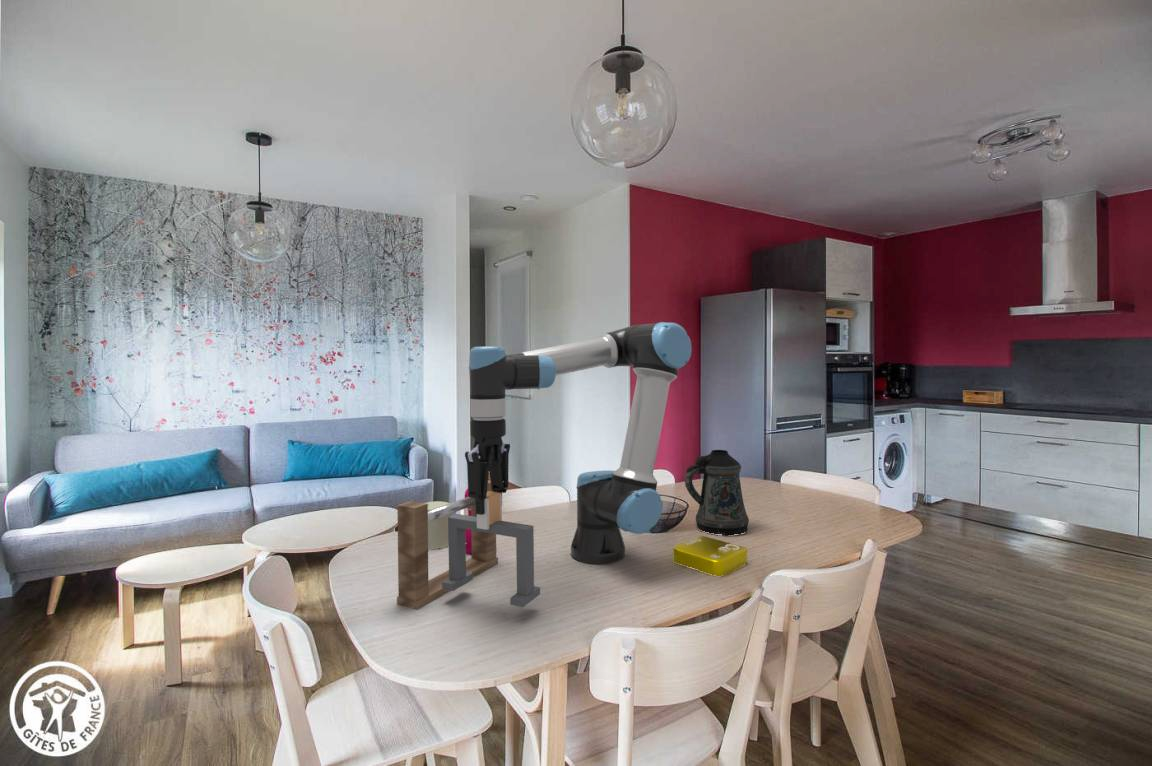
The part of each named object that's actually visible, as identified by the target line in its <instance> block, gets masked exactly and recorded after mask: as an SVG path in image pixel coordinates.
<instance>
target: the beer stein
mask: <svg viewBox="0 0 1152 766" xmlns="http://www.w3.org/2000/svg"><path fill="white" fill-rule="evenodd" d="M741 470H742V465H741V464H740V462H739V461H738V460H736V459H735V458H733V457H732V456H731V455H730V454H729V452H728V450H725V449H713V450H711V452H710V453H709V454H707V455H702V456H698V457H697V458H695V462H694V464H693V465H690V466H689V467H688V468H687V469H686V473H685V475H684V485H685V488H686V490H687V491H688V493H689V495H690V497H691V498H692V499H693V500H694V501H695V502H696V503H697V504H698V505H699V507H698V510H697V513H696V514H695V522H696V527H697V529H698V528H699V529H700V530H699V529H698V530H699V531H701V530H702V531H705V532H709V533H714V534H722V535H734V534H741V533H744V532H746V531H747V532H748V528H749V523H750V522H749V521H750V520H749V515H748V514H747V510H746V507H745V503H744V498H743V491H742V485H741V478H740V473H741ZM696 474H701V475H702V474H703V477H702V484H701V490H700V491H701V492H700V494H699V492H698V491H697V490H696V488H695V486H694V483H693V478H694V477H695V475H696ZM702 531H701V532H702ZM705 532H704V533H705ZM747 532H746V533H747Z"/></svg>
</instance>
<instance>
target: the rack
mask: <svg viewBox="0 0 1152 766" xmlns="http://www.w3.org/2000/svg"><path fill="white" fill-rule="evenodd" d="M488 491H490V492H493V491H492V487H491V480H490V479H488V485H487V492H488ZM426 503H427V502H417V501H411V500H410V501H407V502H403V503H400V504H398V505H397V510H396V511H397V575H398V576H397V577H398V578H397V579H398V582H397V583H398V586H397V587H398V592H397V593H398V595H397V596H396V604H398V605H400V606H404V607H408V608H412V609H415V610H419V609H421V608H423V607H424V606H425V605H427V604H430V603H431V602H433V601H434V600H436V599H438V598H440V597H441V595H442V596H443V595H445V594H447V593H449V592H451V591H450V590H446V589H442V582H443V581H445V580H447V579H449V569H447V570H446V571H444V572H442V573H440V574H438V575H436V576H434V577H432V578H431V579H429V550H428V522H431V521H434V520H436V519H439V518H441V517H444V516H447V515H449V514H450V515H451V514H454V513H457V512H459V511H462V510H465V509H467V507H470V506H471V516H474V517H477V514H476V500H475V498H471V497H467V498H465V497H464V498H462V499H458V500H456V501H453V502H449V503H450V504H447V505H444V506H441V507H439V508H436V509H433V510H430V511H428V504H426ZM498 562H499V559H498V557H497V534H492V533H486V532H480V531H474V530H472V554H471V558H469V559H466V572H470V573H473V578H474V576H475V577H476V576H478V575H480V574H482V573H484V572H485V571H487V570H489V569H491V568H492V567H493V566H495V565H497V564H498ZM448 591H449V592H448ZM446 592H447V593H446Z"/></svg>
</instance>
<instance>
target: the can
mask: <svg viewBox="0 0 1152 766" xmlns="http://www.w3.org/2000/svg"><path fill="white" fill-rule="evenodd" d="M425 503H426V504H428V511H430V510H433V509H436V508H439V507H441V506H444V505H447V504H450V503H451V502H446V501H440V500H439V501H437V500H436V501H428V502H425ZM450 516H451V514H449V515H447V516H444V517H441V518H439V519H436V520H434V521H431V522H428V549H435V550H439V549H438V548H441V549H445V548H447V547H449V543H448V517H450ZM446 546H447V547H446ZM444 547H445V548H444Z"/></svg>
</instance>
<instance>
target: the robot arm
mask: <svg viewBox="0 0 1152 766" xmlns="http://www.w3.org/2000/svg"><path fill="white" fill-rule="evenodd" d="M691 356H692V341H691V339H690V336H689V335H688V333H687V331H686V330H685V328H684V327H683V326H682V325H680V324H678V323H676V322H664V321H660V322H656V323H646V324H645V323H644V324H643V323H642V324H634V325H630V326H627V327H624V328H620V329H616V330H614V331H609V332H604V333H602V334H599V335H598V337H597V338H592V339H587V340H580V341H576V342H570V343H565V344H560V345H554V346H548V347H544V348H539V349H538V348H537V349H532V350H525V351H521V352H516V353H511V354H506V351H505V348H504V347H503V346H494V345H493V346H491V345H490V346H473V347H472V348H471V349H470V351H469V360H468V371H469V374H468V375H469V394H470V395H469V398H470V401H469V402H470V405H469V406H470V408H469V409H470V413H469V415H470V417H471V418H472V419H471V420H470V421H469V422H470V423H469V424H470V427H469V428H470V436H471V437H472V438H473V439H474V443H473V449H471V450H470V451H465V453H464V458H465V460H466V461H465V462H466V467H467V468H466V469H467V470H466V471H467V474H466V475H467V489H468V496H469V497H471V498H475V500H476V514H477V528H479V529H485V530H488V529H489V499H488V498H486V495H487V485H488V480H491V487H492V491H493V492H498V493H500V514H501V520H500V521H503V507H502V506H503V494H506V493H507V490H508V489H507V488H508V487H509V460H510V459H509V455H510V448H511V445H510V443H504V441H503V437H505V436H506V434H507V430H506V429H507V428H506V426H507V425H506V422H507V421H506V419H505V418H504V417H506V415H507V412H506V409H507V407H506V390H507V391H508V390H509V391H512V390H532V389H533V390H534V389H535V390H536V389H538V390H540V389H548V388H550V387H552V386H553V385H554V382H555V380H556V377H557V376H560V375H561V376H562V375H565V374H569V373H574V372H578V371H584V370H588V369H593V368H597V367H605V368H607V369H611V368H616V367H632V371H633V372H634V374H635V375H636V383H635V388H634V393H633V397H632V402H631V403H632V404H631V408H630V412H629V419H628V423H627V428H626V429H627V430H626V433H625V439H624V444H623V450H622V454H621V460H620V466H619V468H618V469H616V470H593V471H586V472H582V473H580V474H579V475H578V476H577V482H576V513H577V514H576V516H577V517H576V520H577V521H576V528H575V532H574V535H573V539H572V541H571V544H570V545H571V546H570V555H571V557H572V559H575V560H577V561H579V562H582V563H586V564H587V563H588V564H596V565H597V564H599V565H600V564H601V565H602V564H612V563H616V562H619V561H621V560H623V559H624V558H625V557H626V544H625V541H624V538H623V534H622V532H621V530H622V531H623V532H626V533H627V532H628V533H631V534H635V535H640V534H644V533H647V532H648V531H650V530H651V529H652V528H654V527H655V526H656V524H657V523H658V522H659V520H660V519H661V518H660V517H661V516H662V513H663V500H662V499H661V495H660V493H659V492H658V491H657V486H658V481H657V479H656V478H655V476H654V470H655V464H656V459H657V453H658V449H659V444H660V438H661V434H662V428H663V422H664V417H665V411H666V406H667V400H668V395H669V390H670V385H671V383H672V382H673V381H675V380H676V379H677V378H678V374H679V369H681V368H683V367H684V366H685V365H686V364H687V363H688V362H689V361H690V358H691Z"/></svg>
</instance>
